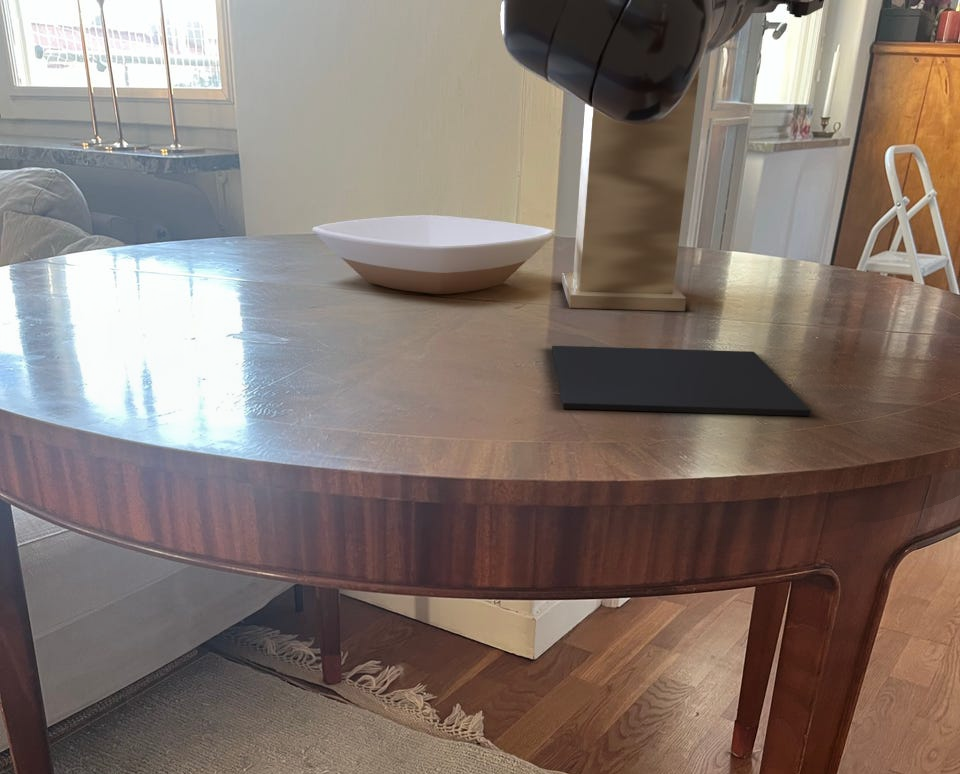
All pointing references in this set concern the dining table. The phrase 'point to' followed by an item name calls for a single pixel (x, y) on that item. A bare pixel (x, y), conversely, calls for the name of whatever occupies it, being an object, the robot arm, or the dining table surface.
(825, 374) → the dining table surface
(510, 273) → the bowl
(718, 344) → the dining table surface
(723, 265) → the dining table surface
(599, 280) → the stand
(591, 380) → the mat
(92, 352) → the dining table surface
